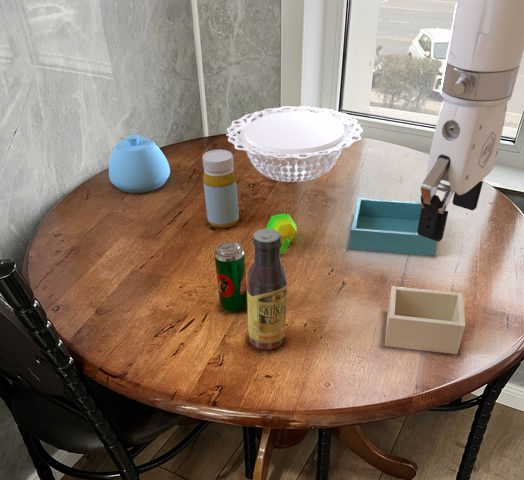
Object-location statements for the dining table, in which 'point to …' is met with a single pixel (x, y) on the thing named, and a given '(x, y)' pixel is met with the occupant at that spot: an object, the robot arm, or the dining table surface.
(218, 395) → the dining table surface
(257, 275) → the sauce bottle
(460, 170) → the robot arm
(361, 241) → the bin
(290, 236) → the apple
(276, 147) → the white lattice bowl
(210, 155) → the bottle
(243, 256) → the soda can
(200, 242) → the dining table surface
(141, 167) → the sugar bowl
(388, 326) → the lone bin
